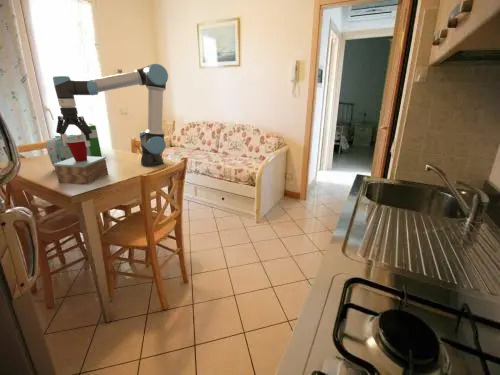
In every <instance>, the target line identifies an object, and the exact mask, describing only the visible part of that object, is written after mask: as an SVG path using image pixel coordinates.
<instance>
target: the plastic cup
mask: <svg viewBox="0 0 500 375" xmlns="http://www.w3.org/2000/svg"><path fill="white" fill-rule="evenodd" d="M65 143H67V145H68V147H69V149H70V151H71V153H72V155H73V157H74V159H75V161H76V162H81V161H86V160H87V147H86V145H85V141H84V139H78V140H70V141H65Z"/></svg>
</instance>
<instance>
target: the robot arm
mask: <svg viewBox="0 0 500 375" xmlns="http://www.w3.org/2000/svg"><path fill="white" fill-rule="evenodd" d="M52 80H53V86H54V90H55V93H56V97H57V101H58V106H59V111H60V113H61V115H59V116H57V125H56V130H55V133H56V134H59V136H61V139H62V140H63V143H64V146H68V145H67V143H65V141H68V138H67V135H68V134H67V133H66V131H67V130H68V128H69V126H71V125H72V126H76V127H77V128H78V129H79V131H80V132H81V131H82V132H83V133H84V135H83V136H84V141H85V145H86V147H88V146H90V141H89V140H90V136H89V134H91V133H92V131H91V130H90V128H89V126H88V123H87V122H86V121H85V120H86V119H85V117H84V116H83V115H82V116H81V115H80V116H78V114H79V113H78V108H77V104H76V99H75V96H97V95H99V93H101V92H107V91H112V90H117V89H122V88H128V87H133V86H138V85H139V86H142V87H143V86H145V87H146V88H147V90H148V91H147V92H148V95H147V129H146V130H145V131H140V132H139V140H140V147H141V153H142V155H141V159H140V164H141V166H143V167H156V166H161V165H163V164H164V159H163V156H162V153H163V152H164V151H165V150H166V147H167V143H166V140H165V133H164V131H163V105H164V103H163V100H164V92H165V90H166V89H167V88H166V86H167V82H168V80H169V73H168V71H167V69H166V68H165V67H164V66H163V65H161V64H158V63H152V64H150V65H147V66H144V67H142V68H138V69H135V70H134V71H132V72H130V71H129V72H125V73H121V74H114V75H108V76H104V77H103V76H102V77H97V78H91V79H86V80H78V79H77V80H76V79H75V80H74V79H71V78H70V75H69V76H68V75H54V76H53V77H52Z"/></svg>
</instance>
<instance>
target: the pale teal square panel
mask: <svg viewBox="0 0 500 375" xmlns="http://www.w3.org/2000/svg"><path fill="white" fill-rule="evenodd" d="M104 159H105V160H106V159H107V157H106V156H101V157H94V156H87V160H86V161H81V162H76V161H75V159H74V157H73V158H70V159H67V160H64V161H61V162H58V163H55V164H53V165H52V167H54V166H67V167H86V166H89V165H91V164H94V163H96V162H99V161H101V160H104Z"/></svg>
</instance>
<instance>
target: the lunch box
mask: <svg viewBox="0 0 500 375" xmlns="http://www.w3.org/2000/svg"><path fill="white" fill-rule="evenodd" d="M67 138H68V141H70V140H78V139H84V136H83V135H82V134H81V133H80V134H67ZM45 147H46V151H47V153H48V156H49V160H50V162H51V165H52V166H53V164H55V163H58V162H61V161H64V160H67V159H70V158H73V155H72V153H71V151H70V149H69V147H68V146H64V143H63V140H62V139H61V135H55V136H54V137H51V138H49V139H48V140H46V142H45ZM87 156H91V151H90V148H89V146H88V147H87Z"/></svg>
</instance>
